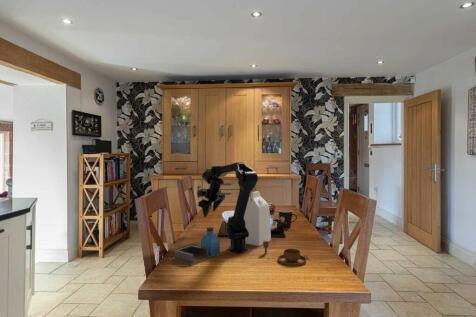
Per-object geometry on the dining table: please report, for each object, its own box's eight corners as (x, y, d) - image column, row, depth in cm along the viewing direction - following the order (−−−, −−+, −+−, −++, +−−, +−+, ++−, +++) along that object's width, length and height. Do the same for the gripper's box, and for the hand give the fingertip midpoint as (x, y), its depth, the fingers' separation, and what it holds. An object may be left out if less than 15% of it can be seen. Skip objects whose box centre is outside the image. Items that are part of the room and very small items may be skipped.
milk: (252, 237, 170) (252, 190, 169) (270, 240, 163) (270, 191, 163) (240, 242, 160) (239, 192, 159) (259, 245, 153) (259, 193, 153)
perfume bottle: (210, 257, 137) (210, 230, 137) (200, 254, 141) (200, 228, 141) (219, 253, 142) (219, 227, 142) (209, 250, 146) (209, 225, 146)
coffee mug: (275, 226, 195) (275, 210, 195) (287, 224, 199) (287, 209, 199) (286, 230, 185) (286, 213, 184) (298, 228, 188) (298, 212, 188)
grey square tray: (211, 257, 136) (211, 248, 136) (191, 265, 126) (191, 256, 126) (191, 252, 143) (191, 244, 143) (171, 260, 133) (171, 250, 133)
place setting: (278, 269, 123) (277, 255, 123) (260, 254, 142) (260, 241, 142) (317, 265, 127) (317, 251, 127) (295, 250, 147) (295, 238, 147)
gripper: (211, 178, 173) (206, 202, 178) (192, 187, 157) (187, 214, 162) (228, 185, 169) (222, 210, 174) (210, 195, 153) (204, 222, 158)
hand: (209, 214), depth 167 cm, fingers open, 9 cm apart
